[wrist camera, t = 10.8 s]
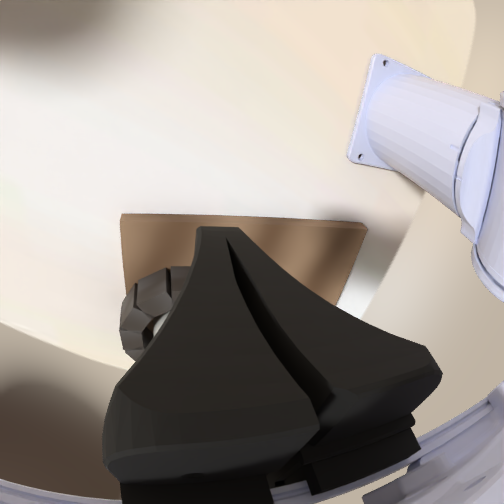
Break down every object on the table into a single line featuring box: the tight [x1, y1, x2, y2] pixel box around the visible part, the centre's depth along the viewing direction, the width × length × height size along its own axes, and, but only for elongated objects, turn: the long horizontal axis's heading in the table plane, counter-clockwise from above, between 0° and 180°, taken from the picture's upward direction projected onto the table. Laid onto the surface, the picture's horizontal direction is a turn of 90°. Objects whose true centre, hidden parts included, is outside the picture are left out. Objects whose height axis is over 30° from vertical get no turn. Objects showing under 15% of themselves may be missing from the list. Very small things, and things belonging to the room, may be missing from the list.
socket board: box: [119, 214, 368, 361], centre depth 24 cm, size 18×14×4 cm
